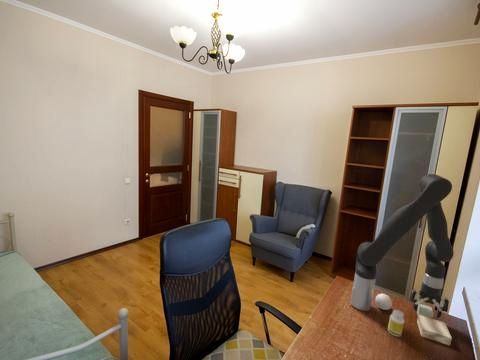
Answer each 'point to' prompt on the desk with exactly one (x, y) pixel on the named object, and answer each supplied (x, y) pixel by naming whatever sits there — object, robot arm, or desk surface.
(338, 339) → the desk surface
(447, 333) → the birch block
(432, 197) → the robot arm
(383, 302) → the white rounded oval
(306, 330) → the desk surface
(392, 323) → the supplement bottle
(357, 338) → the desk surface
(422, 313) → the sage cube
